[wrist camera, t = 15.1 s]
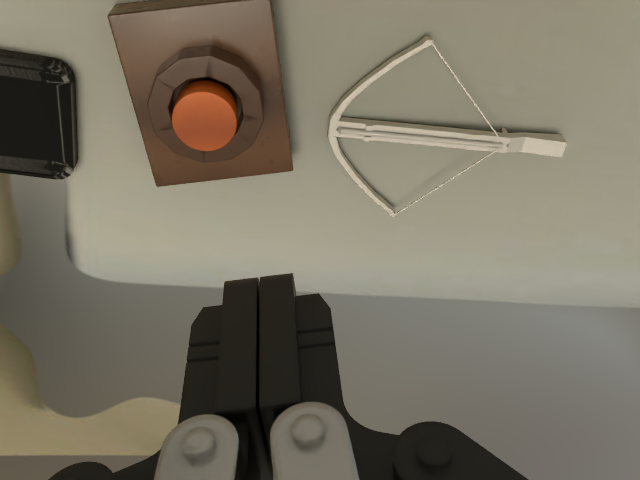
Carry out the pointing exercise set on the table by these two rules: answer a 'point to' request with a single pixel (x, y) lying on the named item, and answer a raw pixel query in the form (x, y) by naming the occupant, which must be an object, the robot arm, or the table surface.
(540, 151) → the crossbow
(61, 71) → the phone
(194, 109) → the button
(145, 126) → the button block
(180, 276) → the table surface
